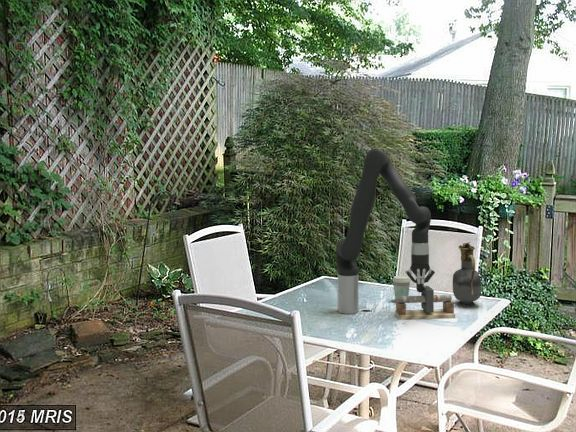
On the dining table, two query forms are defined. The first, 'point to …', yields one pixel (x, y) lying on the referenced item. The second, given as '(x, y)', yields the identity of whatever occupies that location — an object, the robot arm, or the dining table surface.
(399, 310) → the pipe rig
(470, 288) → the dark grey bottle
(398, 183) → the robot arm
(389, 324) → the dining table surface
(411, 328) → the dining table surface
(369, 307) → the dining table surface
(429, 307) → the collar
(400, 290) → the coffee cup
